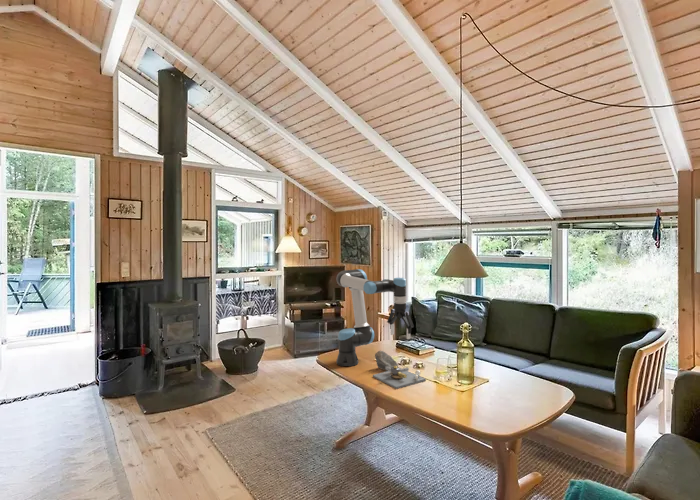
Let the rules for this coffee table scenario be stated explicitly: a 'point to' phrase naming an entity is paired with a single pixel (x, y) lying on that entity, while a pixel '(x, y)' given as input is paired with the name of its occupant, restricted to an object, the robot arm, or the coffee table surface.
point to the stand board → (402, 382)
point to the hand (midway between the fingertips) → (400, 336)
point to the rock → (384, 360)
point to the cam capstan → (395, 372)
